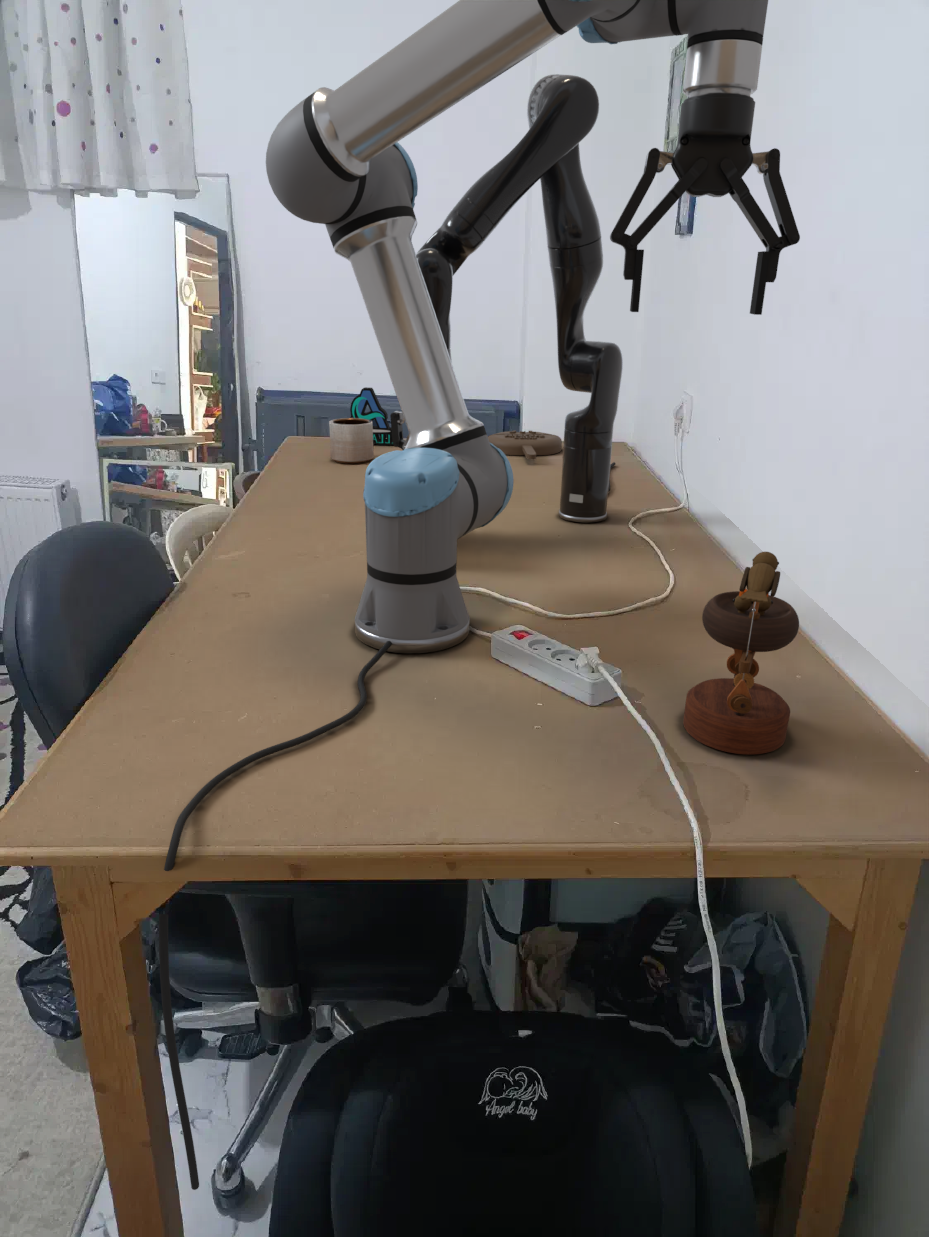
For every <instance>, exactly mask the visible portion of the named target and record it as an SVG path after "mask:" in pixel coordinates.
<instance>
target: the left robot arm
mask: <svg viewBox="0 0 929 1237" xmlns="http://www.w3.org/2000/svg"><path fill="white" fill-rule="evenodd" d="M768 4H769V0H457V1H456V2H455V3H454V4H452V5H451V6H450V7H448V8H447V9H445V10H444V11H443V12H441V13H440V14H439V15H436V17H434V18H433V19H432V20H430V21H429V22H427V23H426V24H424V25H423V26H422V27H420V28H419V29H418V30H416V31H415V32H413V33H412V34H411V35H409V36H408V37H407V38H405V39H404V40H402V41H400V43H398V44H397V45H396V46H394V47H392V48H391V49H389V51H387V52H386V53H384V54H382V55H381V56H380V57H379V58H378V59H376V60H374V61H373V62H372V63H370V64H369V65H368V66H367V67H365V68H364V69H362V70H361V71H359V72H358V73H356V74H355V75H354V76H353V77H351V78H350V79H348V80H347V81H346V82H344V83H343V84H341V85H340V86H338V87H337V88H336V89H335V90H334V89H331V88H329V87H327V86H326V87H325V86H323V87H319V88H318V89H316V90H315V91H313V92H312V93H311V94H309V95H308V96H307V97H306V98H304V99H303V100H301V101H300V102H298V103H297V104H296V105H294V107H293V108H292V109H290V110H288V112H286V114H285V115H284V116H283V117H282V118H281V120H280V121H279V122H278V123H277V125H276V126H275V128H274V130H273V131H272V132H271V134H270V137H269V141H268V143H267V148H266V152H265V169H266V170H265V172H266V176H267V180H268V183H269V186H270V188H271V190H272V192H273V195H274V196H275V198H276V199H277V201H278V202H279V203H280V205H281V206H282V207H283V208H285V209H286V211H287V212H289V213H291V214H292V215H293V216H295V217H296V218H298V219H300V220H303V221H306V222H308V223H313V224H320V225H324V226H325V228H326V231H327V234H328V237H329V239H330V242H331V245H332V248H333V251H334V253H335V254H336V255H338V256H340V257H341V258H343V259H345V260H348V261H349V263H350V265H351V268H352V271H353V273H354V277H355V281H356V282H357V286H358V288H359V291H360V294H361V297H362V300H363V303H364V305H365V309H366V311H367V314H368V318H369V320H370V323H371V326H372V329H373V331H374V332H373V333H374V335H375V338H376V341H377V343H378V346H379V349H380V352H381V354H382V359H383V361H384V364H385V366H386V369H387V371H388V375H389V378H390V381H391V384H392V387H393V390H394V392H395V395H396V398H397V401H398V404H399V407H400V410H401V412H402V413H403V416H404V419H405V422H404V423H405V425H406V428H407V430H408V434H409V433H410V438H409V441H408V443H407V445H406V447H405V449H404V450H396V449H395V450H392V451H389V452H385V453H382V454H381V455H379V456H377V457H375V458H373V459H372V460H371V461H370V463H369V464H368V466H367V467H366V470H365V474H364V488H363V492H362V498H363V501H364V515H365V516H364V517H365V518H364V520H365V545H366V546H365V548H366V549H365V550H366V579H365V584H364V586H363V589H362V592H361V596H360V600H359V602H358V606H357V609H356V612H355V615H354V633H355V636H356V638H357V639H358V640H359V641H360V642H362V643H363V644H365V645H367V646H368V647H371V648H374V649H377V650H378V651H377V653H375V655H373V657H372V658H370V660H369V661H368V662H367V663H366V664H365V665H364V666H363V667H362V669H361V670H360V672H359V674H358V677H357V687H358V691H359V694H360V699H359V702H358V703H357V704H356V705H355V707H353V709H352V710H350V711H349V712H347V713H346V714H344V715H342V716H341V717H339V718H336V719H335V720H333V721H330V722H329V723H326V724H324V725H322V726H319V727H318V728H316V729H314V730H312V731H310V732H307V733H305V734H302V735H300V736H297V737H295V738H291V739H289V740H287V741H286V740H285V741H282V742H280V743H277V744H275V745H271V746H269V747H265V748H263V749H261V750H259V751H256V752H254V753H252V754H249V755H248V756H246V757H244V758H242V759H240V760H239V761H237V762H235V763H234V764H232V765H231V766H228V767H227V768H225V769H223V771H221V772H220V773H218V774H217V775H215V776H214V777H213V778H212V779H211V780H209V781H208V782H207V783H206V784H205V785H204V786H203V787H202V788H200V790H199V791H198V792H197V793H196V794H195V795H194V796H193V798H191V800H190V801H189V802H188V803H187V805H186V806H185V807H184V809H183V810H182V811H181V812H180V814H179V816H178V818H177V820H176V822H175V825H174V828H173V830H172V833H171V838H170V842H169V846H168V850H167V854H166V859H165V863H164V866H163V867H164V868H163V871H164V872H169V871H171V870H173V869H174V867H175V862H176V859H177V853H178V850H179V845H180V841H181V838H182V833H183V831H184V827H185V824H186V823H187V821H188V818H189V817H190V815H191V814H192V813H193V812H194V810H195V809H196V808H197V807H198V805H199V804H200V803H201V802H202V801H203V799H204V798H206V796H207V795H208V794H209V793H210V792H211V791H212V790H213V789H214V788H215V787H216V786H218V785H220V783H221V782H223V781H224V780H225V779H226V778H227V779H228V777H230V776H231V775H232V774H234V773H236V772H238V771H239V770H241V769H243V768H244V767H246V766H248V765H250V764H252V763H253V762H256V761H257V760H260V759H263V758H265V757H268V756H270V755H273V754H275V753H278V752H281V751H284V750H287V749H290V748H293V747H296V746H299V745H301V744H303V743H306V742H309V741H310V740H312V739H315V738H317V737H319V736H321V735H323V734H325V733H327V732H329V731H331V730H334V729H336V728H337V727H340V726H341V725H343V724H345V723H347V722H349V721H350V720H352V719H353V718H355V717H356V716H357V715H358V714H360V712H361V711H362V710H363V709H364V707H365V706H366V703H367V700H368V693H367V690H366V687H365V677H366V676H367V674H368V672H369V671H370V670H371V669H372V668H373V667H374V666H375V665H376V663H378V662H379V661H380V659H381V658H382V657H383V656H384V654H385V653H387V652H390V653H396V654H397V653H398V654H425V653H433V652H439V651H443V650H446V649H449V648H452V647H455V646H457V645H458V644H460V643H462V642H463V641H464V640H466V639H467V637H468V636H469V634H470V615H469V612H468V608H467V606H466V601H465V599H464V596H463V593H462V589H461V586H460V583H459V581H458V577H457V561H458V560H457V559H458V558H457V557H458V556H457V554H458V539H461V538H462V537H464V536H466V535H467V534H469V533H471V532H473V531H474V530H477V529H479V528H483V527H485V526H487V525H489V524H490V523H491V522H493V521H494V520H495V519H496V518H497V517H498V516H499V515H500V514H501V513H503V511H504V510H505V508H507V506H508V504H509V502H510V500H511V498H512V495H513V490H514V472H513V468H512V465H511V462H510V460H509V458H508V457H507V455H506V454H504V453H503V452H502V451H501V450H500V449H499V448H497V447H496V446H494V445H493V444H492V443H490V442H489V440H488V433H487V431H486V428H485V425H484V423H483V422H482V421H480V420H478V419H476V418H474V417H472V416H471V415H470V414H469V411H468V408H467V405H466V402H465V398H464V397H463V393H462V389H461V387H460V384H459V381H458V378H457V375H456V371H455V368H454V366H453V362H452V363H451V360H450V357H449V354H448V351H447V348H446V345H445V341H444V338H443V335H442V332H441V329H440V326H439V323H438V320H437V317H436V314H435V311H434V308H433V305H432V302H431V299H430V296H429V293H428V290H427V287H426V284H425V281H424V278H423V275H422V272H421V269H420V266H419V263H418V260H417V257H416V250H415V248H414V245H413V242H412V238H413V235H414V233H415V231H416V229H417V226H418V219H417V217H416V214H415V211H414V208H415V204H416V203H415V200H416V197H418V192H419V191H418V189H419V188H418V187H419V186H418V174H417V170H416V168H415V165H414V163H413V160H412V159H411V157H410V155H409V153H408V152H407V150H406V149H405V148H404V147H403V146H402V145H401V144H400V141H401V140H403V139H404V138H406V137H407V136H408V135H411V134H412V133H414V132H415V131H417V130H418V129H419V128H421V127H423V126H425V125H426V124H427V123H429V122H430V121H432V120H433V119H435V118H436V117H438V116H439V115H441V114H442V113H444V112H446V111H448V110H449V109H450V108H452V107H453V106H455V105H456V104H459V102H461V101H463V100H464V99H466V98H468V97H469V96H470V95H472V94H473V93H475V92H477V91H478V90H479V89H481V88H482V87H484V86H486V85H487V84H488V83H490V82H492V81H493V80H495V79H496V78H498V77H500V76H501V75H502V74H504V73H506V72H507V71H508V70H510V69H511V68H513V67H515V66H516V65H518V64H519V63H521V62H523V61H524V60H526V59H527V58H528V57H530V56H531V55H533V54H535V53H536V52H537V51H539V50H541V49H542V48H543V47H545V46H547V45H548V44H550V43H551V42H553V41H554V40H556V39H558V38H559V37H560V36H563V35H565V34H567V33H568V32H569V31H571V30H572V29H574V28H575V27H577V28H578V34H579V36H580V38H581V39H582V40H583V41H585V42H586V43H589V44H609V45H618V44H619V43H622V42H631V41H632V42H633V41H639V40H649V39H657V38H664V37H673V36H676V37H677V36H683V35H687V44H686V55H685V56H686V57H685V67H684V76H683V84H682V85H683V86H682V93H683V95H684V96H686V97H687V98H686V99H684V100H683V101H682V103H681V105H680V113H679V123H678V134H677V144H676V147H675V149H674V152H669V151H662V150H660V149H659V148H658V147H652V148H651V149H650V150H649V151H648V152H647V154H646V157H645V163H644V168H643V173H642V176H641V177H640V179H639V180H638V182H637V184H636V186H635V188H634V190H633V192H632V194H631V195H630V197H629V199H628V202H627V203H626V205H625V207H624V209H623V210H622V212H621V214H620V216H619V218H618V220H617V221H616V223H615V226H614V227H613V229H612V231H611V233H610V235H609V239H610V242H612V243H614V244H617V245H619V246H621V247H622V248H623V249H624V260H623V272H622V276H623V279H624V281H631V294H630V306H629V312H631V313H639V312H640V311H639V310H640V302H641V301H640V299H641V288H642V277H643V266H644V255H645V254H644V253H645V249H638V246H639V244H641V243H642V242H643V240H644V239H645V238H646V237H647V235H648V234H649V233H650V232H651V231H652V230H653V229H654V227H655V226H656V225H657V224H658V223H659V222H660V221H661V220H662V218H663V217H664V216H665V215H667V213H668V211H670V210H671V208H672V207H673V206H674V205H675V204H676V203H677V201H678V200H679V199H681V197H682V196H683V195H684V194H685V193H686V194H687V195H688V196H690V197H691V198H700V197H703V196H709V197H712V198H722V197H725V196H726V195H729V196H730V197H731V199H732V200H733V201H734V202H735V203H736V205H737V206H738V208H739V210H740V211H741V212H742V214H743V216H744V217H745V218H746V220H747V221H748V223H749V225H750V226H751V228H752V230H753V231H754V233H755V234H756V235H757V237H758V239H759V240H760V242H761V243H762V245H763V247H764V248H765V250H764V251H757V256H756V263H755V271H754V277H753V278H754V279H753V285H752V292H751V300H750V307H749V314H751V315H754V316H755V315H757V316H758V315H759V316H762V315H763V307H764V300H765V294H766V287H767V283H774V282H775V280H776V279H777V274H778V268H779V260H780V255H781V252H782V250H783V249H785V248H788V247H790V246H793V245H796V244H798V243H799V242H800V239H801V235H800V231H799V229H798V226H797V222H796V220H795V216H794V213H793V210H792V207H791V204H790V201H789V197H788V195H787V191H786V187H785V184H784V181H783V178H782V175H781V172H780V171H781V151H780V149H778V148H775V147H774V148H771V149H770V150H768V151H761V152H753V151H752V146H751V140H752V132H753V126H754V125H753V124H754V116H755V108H756V100H754V98H753V97H752V96H751V95H753V94H754V93H755V92H756V91H757V90H758V87H759V86H758V85H759V77H760V68H761V60H762V52H763V51H762V50H763V43H764V34H765V27H766V19H767V13H768ZM668 165H670V166H671V169H672V170H673V172H674V174H675V175H676V177H677V179H678V181H676V183H674V185H673V186H672V187H671V188H670V190H669V191H668V192H667V193H666V194H665V196H664V197H663V198H662V199H661V200H660V201H659V202H658V204H656V206H655V207H654V208H653V209H652V210H651V211H650V213H648V215H647V216H646V217H645V218H644V219H643V221H642V222H640V224H639V225H638V226H637V227H636V229H635V230H634V231H633V232H632V233H631V235H630V234H628V233H625V232H627V229H628V228H629V226H630V224H631V222H632V220H633V219H634V217H635V215H636V213H637V211H638V209H639V207H640V206H641V204H642V202H643V200H644V198H645V196H646V194H647V193H648V191H649V190H650V188H651V186H652V183H653V181H654V179H655V177H656V174H659V175H660V174H661V173H662V172H663V171H664V170H665V168H666V166H668ZM751 166H754V167H755V168H756V172H757V174H759V175H762V179H763V183H764V186H765V190H766V193H767V195H768V199H769V202H770V205H771V208H772V211H773V214H774V217H775V220H776V223H777V227H778V230H779V233H780V236H779V235H778V234H777V232H776V231H775V229H774V227H773V226H772V224H771V223H770V221H769V219H768V218H767V216H766V215H765V213H764V212H763V210H762V209H761V207H760V206H759V204H758V202H757V200H756V199H755V198H754V196H753V195H752V193H751V190H750V188H749V186H748V185H747V183H746V182H745V180H744V179H743V177H744V175H745V174H746V173H747V172H748V170H749V169H750V168H751ZM158 957H159V960H158V961H159V980H160V982H159V983H160V995H161V996H160V997H161V1008H162V1016H163V1025H164V1032H165V1041H166V1047H167V1053H168V1059H169V1065H170V1072H171V1078H172V1082H173V1088H174V1094H175V1098H176V1104H177V1109H178V1114H179V1118H180V1119H179V1120H180V1124H181V1130H182V1135H183V1141H184V1147H185V1154H186V1160H187V1165H188V1174H189V1180H190V1186H191V1187H190V1188H191V1189H192V1190H193V1191H196V1190H198V1189H199V1187H200V1178H199V1172H198V1164H197V1157H196V1151H195V1146H194V1144H195V1143H194V1138H193V1133H192V1128H191V1121H190V1116H189V1110H188V1105H187V1100H186V1094H185V1090H184V1083H183V1079H182V1072H181V1067H180V1061H179V1055H178V1049H177V1042H176V1034H175V1027H174V1016H173V1008H172V996H171V982H170V981H171V980H170V962H169V961H170V959H169V914H167V913H158Z"/></svg>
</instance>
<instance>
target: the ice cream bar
mask: <svg viewBox="0 0 929 1237" xmlns="http://www.w3.org/2000/svg"><path fill="white" fill-rule="evenodd" d="M487 437H488V440H489V442H490V443H492V444H493V445H494V446H496V447H497V448H499V449H500V450H501V451H502V452H503V453H504V454H505V455H506V456H507V455H508V456H525V458H526V459H527V460H537V456H548V455H554V454H558V453H560V452H561V451H562V448H563V447H562V446H563V441H562V438H561V437H560V436H559V435H556V434H551V433H547V432H540V431H533V430H528V431H526V430H524V431H522V430H520V431H517V430H512V431H511V430H509V431H501V432H497V433H493V434H490V435H487Z"/></svg>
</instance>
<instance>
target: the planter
mask: <svg viewBox="0 0 929 1237" xmlns="http://www.w3.org/2000/svg"><path fill="white" fill-rule="evenodd" d="M328 424H329V425H328V426H329V453H330V454H329V455H330V456H329V457H330V459H331V460H332V461H333V462H335V463H341V464H363V463H367V462H371V461H373V460H374V456H375V455H374V452H375V451H374V450H375V449H374V444H373V426H374V425H373V421H371V420H368V419H362V418H350V417H342V418H341V417H340V418H335V419H334V418H333V419H331V420H329V421H328Z"/></svg>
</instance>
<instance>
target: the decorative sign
mask: <svg viewBox="0 0 929 1237" xmlns="http://www.w3.org/2000/svg"><path fill="white" fill-rule="evenodd" d="M367 407H368V408H369V411H367V412H366V409H367ZM349 409H350V410H349V411H350V416H349V418H362V419H368V420H371V421H372V422H373V421H374V422H375V424H376V425H373V445H376V446H377V445H378V446H384V445H385V446H393V441H392V429H391V425H390V423H389V421H388V419H389V414H388V412H387V411H386V410H385V408H383V407H382V405H381V403H380V401H379V399H378V397H377V395H376V392H375V390H374V388H373V387H363V388H362V389H361V390H360V392H359V394H358V395H356V396H355V397H354V398H353V399H352V400H351V403H350V408H349Z"/></svg>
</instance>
